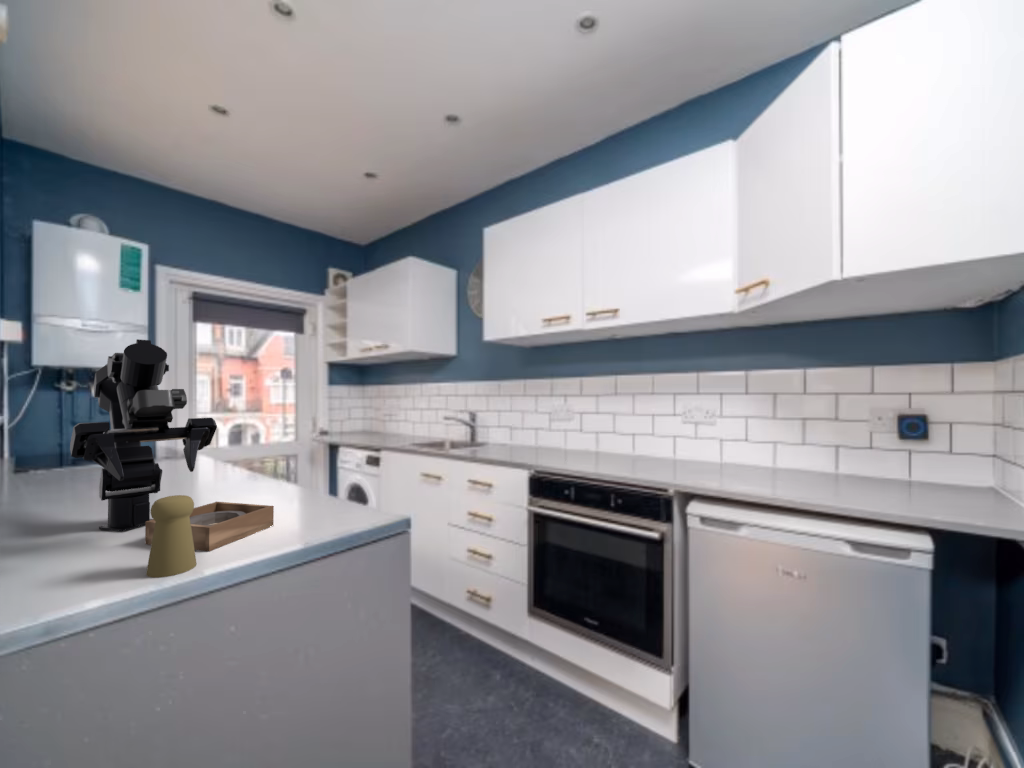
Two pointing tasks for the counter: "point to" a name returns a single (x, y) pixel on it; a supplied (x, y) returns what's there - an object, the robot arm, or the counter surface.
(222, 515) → the socket box
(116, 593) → the counter surface
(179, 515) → the olive knobbed peg
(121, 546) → the counter surface
